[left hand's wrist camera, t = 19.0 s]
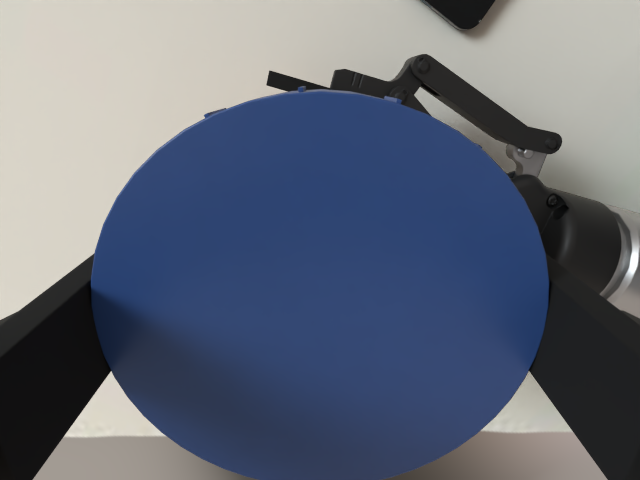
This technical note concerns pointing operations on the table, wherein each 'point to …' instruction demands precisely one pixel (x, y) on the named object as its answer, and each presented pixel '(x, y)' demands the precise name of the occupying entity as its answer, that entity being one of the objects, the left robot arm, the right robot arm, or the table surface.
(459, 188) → the lid
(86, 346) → the left robot arm
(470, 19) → the smartphone
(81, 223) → the table surface
